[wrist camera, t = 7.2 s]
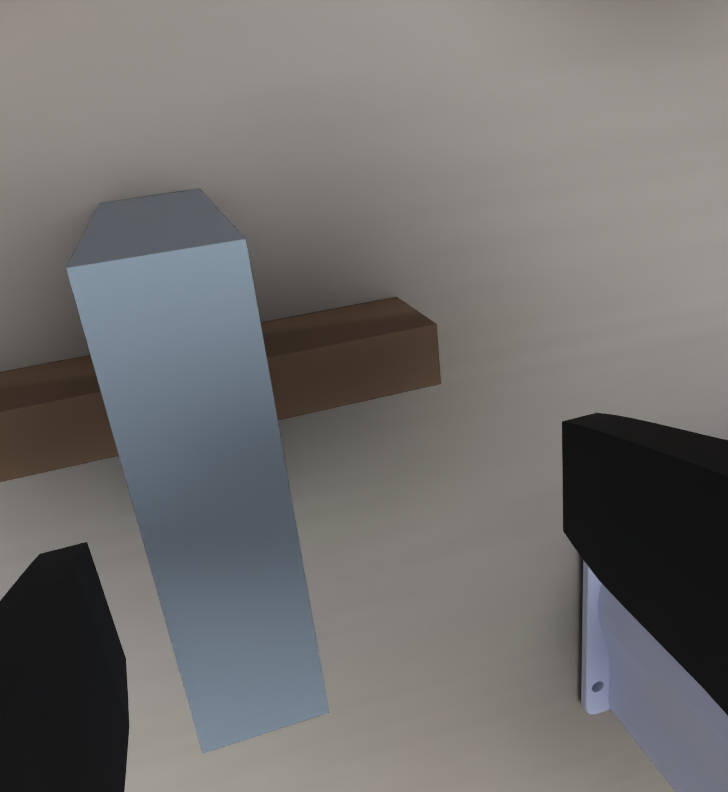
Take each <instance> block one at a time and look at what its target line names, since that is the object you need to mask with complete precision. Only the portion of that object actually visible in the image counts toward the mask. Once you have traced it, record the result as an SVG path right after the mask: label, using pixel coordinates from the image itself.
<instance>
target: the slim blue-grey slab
mask: <svg viewBox="0 0 728 792" xmlns="http://www.w3.org/2000/svg"><path fill="white" fill-rule="evenodd" d="M66 269H67V273H68V276H69V280H70V284H71V287H72V291H73V294H74V298H75V301H76V305H77V308H78V312H79V316H80V319H81V323H82V326H83V330H84V333H85V337H86V340H87V344H88V347H89V351H90V355H91V358H92V362H93V365H94V369H95V372H96V376H97V379H98V383H99V387H100V390H101V394H102V397H103V401H104V404H105V408H106V411H107V415H108V419H109V422H110V426H111V429H112V433H113V436H114V440H115V443H116V447H117V451H118V454H119V458H120V461H121V465H122V468H123V472H124V475H125V479H126V483H127V486H128V490H129V493H130V497H131V500H132V504H133V507H134V511H135V514H136V518H137V522H138V525H139V529H140V532H141V536H142V539H143V543H144V546H145V550H146V554H147V557H148V561H149V564H150V568H151V571H152V575H153V578H154V582H155V586H156V589H157V593H158V596H159V600H160V603H161V607H162V610H163V614H164V618H165V621H166V625H167V628H168V632H169V635H170V639H171V642H172V646H173V650H174V653H175V657H176V660H177V664H178V667H179V671H180V674H181V678H182V681H183V685H184V689H185V692H186V696H187V699H188V703H189V706H190V710H191V713H192V717H193V721H194V724H195V728H196V731H197V735H198V738H199V742H200V745H201V749H202V753H206V752H209V751H212V750H215V749H218V748H221V747H224V746H227V745H230V744H234V743H237V742H240V741H243V740H246V739H249V738H252V737H255V736H258V735H261V734H264V733H268V732H271V731H274V730H277V729H280V728H283V727H286V726H289V725H292V724H295V723H298V722H302V721H305V720H308V719H311V718H314V717H317V716H320V715H323V714H326V713H329V708H328V703H327V697H326V691H325V686H324V680H323V674H322V669H321V663H320V657H319V652H318V646H317V640H316V635H315V629H314V623H313V618H312V612H311V606H310V601H309V595H308V589H307V584H306V578H305V572H304V567H303V561H302V555H301V550H300V544H299V538H298V533H297V527H296V521H295V516H294V510H293V504H292V499H291V493H290V487H289V482H288V476H287V470H286V465H285V459H284V453H283V448H282V442H281V436H280V431H279V425H278V419H277V414H276V408H275V402H274V397H273V391H272V385H271V380H270V374H269V368H268V363H267V357H266V351H265V346H264V340H263V334H262V329H261V323H260V317H259V312H258V306H257V300H256V295H255V289H254V283H253V278H252V272H251V266H250V261H249V255H248V249H247V244H246V239H245V238H244V237H243V236H242V234H241V233H240V232H239V231H238V230H237V229H236V228H235V227H234V226H233V225H232V224H231V222H230V221H229V220H228V219H227V218H226V217H225V216H224V215H223V214H222V213H221V211H220V210H219V209H218V208H217V207H216V206H215V205H214V204H213V203H212V202H211V201H210V199H209V198H208V197H207V196H206V195H205V194H204V193H203V192H202V191H201V190H200V189H194V190H187V191H180V192H174V193H167V194H160V195H153V196H146V197H139V198H132V199H125V200H118V201H111V202H104V203H99V205H98V207H97V209H96V211H95V213H94V215H93V217H92V219H91V221H90V223H89V225H88V227H87V229H86V231H85V233H84V234H83V236H82V238H81V240H80V242H79V244H78V246H77V248H76V250H75V252H74V254H73V256H72V258H71V260H70V262H69V264H68V265H67V267H66Z"/></svg>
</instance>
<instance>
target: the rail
mask: <svg viewBox="0 0 728 792" xmlns="http://www.w3.org/2000/svg"><path fill="white" fill-rule="evenodd" d="M261 329H262V334H263V340H264V346H265V351H266V357H267V363H268V368H269V374H270V380H271V385H272V391H273V397H274V402H275V408H276V414H277V419H278V420H281V419H286V418H290V417H295V416H299V415H304V414H308V413H313V412H317V411H322V410H326V409H331V408H335V407H340V406H344V405H348V404H353V403H357V402H362V401H366V400H371V399H375V398H380V397H384V396H389V395H393V394H398V393H402V392H407V391H411V390H416V389H420V388H425V387H429V386H434V385H438V384H441V377H440V364H439V350H438V337H437V324H436V323H434V322H433V321H431V320H430V319H428V318H427V317H425V316H424V315H422V314H421V313H420V312H418V311H417V310H415V309H414V308H412V307H411V306H409V305H408V304H406V303H405V302H403V301H402V300H400V299H399V298H397V297H394V298H389V299H384V300H379V301H373V302H368V303H363V304H358V305H352V306H347V307H342V308H336V309H331V310H326V311H321V312H315V313H310V314H305V315H300V316H294V317H289V318H284V319H279V320H273V321H268V322H263V323H261ZM115 456H119V454H118V451H117V447H116V443H115V440H114V436H113V433H112V429H111V426H110V422H109V419H108V415H107V411H106V408H105V404H104V401H103V397H102V394H101V390H100V387H99V383H98V379H97V376H96V372H95V369H94V365H93V362H92V358H91V355H89V356H84V357H79V358H73V359H68V360H63V361H58V362H52V363H47V364H42V365H36V366H31V367H26V368H21V369H15V370H10V371H5V372H0V482H3V481H7V480H12V479H16V478H21V477H25V476H29V475H34V474H38V473H43V472H47V471H52V470H56V469H61V468H65V467H70V466H74V465H79V464H83V463H88V462H92V461H97V460H101V459H106V458H110V457H115Z"/></svg>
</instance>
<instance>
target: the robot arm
mask: <svg viewBox="0 0 728 792" xmlns="http://www.w3.org/2000/svg"><path fill="white" fill-rule="evenodd" d="M562 456H563V531H564V533H565V534H566V536H567V537H568V539H569V540H570V541H571V543H572V544H573V546H574V547H575V549H576V550H577V552H578V553H579V554H580V556H581V557H582V559H583V618H582V686H581V704H582V707H583V708H584V709H585V711H586V712H587V713H588V714H591V715H594V714H598V713H601V712H604V711H607V710H611V711H612V713H613V714H614V715H615V716H616V718H617V719H618V720H619V721H620V723H621V724H622V725H623V726H624V728H625V729H626V730H627V731H628V733H629V734H630V735H631V736H632V738H633V739H634V740H635V741H636V743H637V744H638V745H639V746H640V748H641V749H642V750H643V751H644V753H645V754H646V755H647V756H648V758H649V759H650V760H651V761H652V763H653V764H654V765H655V766H656V768H657V769H658V770H659V771H660V773H661V774H662V775H663V776H664V778H665V779H666V780H667V781H668V783H669V784H670V785H671V786H672V788H673V789H674V790H675V791H676V792H728V440H723V439H719V438H715V437H711V436H706V435H702V434H698V433H694V432H690V431H685V430H681V429H677V428H673V427H669V426H664V425H660V424H656V423H651V422H647V421H642V420H638V419H633V418H628V417H623V416H617V415H611V414H602V413H594V414H590V415H586V416H582V417H578V418H575V419H571V420H567V421H563V422H562ZM128 735H129V712H128V689H127V672H126V658H125V655H124V652H123V649H122V646H121V643H120V640H119V637H118V634H117V631H116V628H115V625H114V622H113V619H112V616H111V613H110V610H109V607H108V604H107V601H106V598H105V595H104V592H103V589H102V586H101V583H100V580H99V577H98V574H97V571H96V568H95V565H94V562H93V559H92V556H91V553H90V550H89V547H88V544H87V542H85V543H81V544H77V545H74V546H70V547H66V548H62V549H58V550H54V551H50V552H46V553H42V554H39V555H38V557H37V558H36V559H35V560H34V561H33V562H32V563H31V564H30V565H29V567H28V568H27V569H26V570H25V571H24V573H23V574H22V575H21V576H20V577H19V579H18V580H17V581H16V582H15V584H14V585H13V586H12V587H11V588H10V590H9V591H8V592H7V593H6V595H5V596H4V597H3V598H2V600H1V601H0V792H124V788H125V775H126V762H127V749H128Z"/></svg>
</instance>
